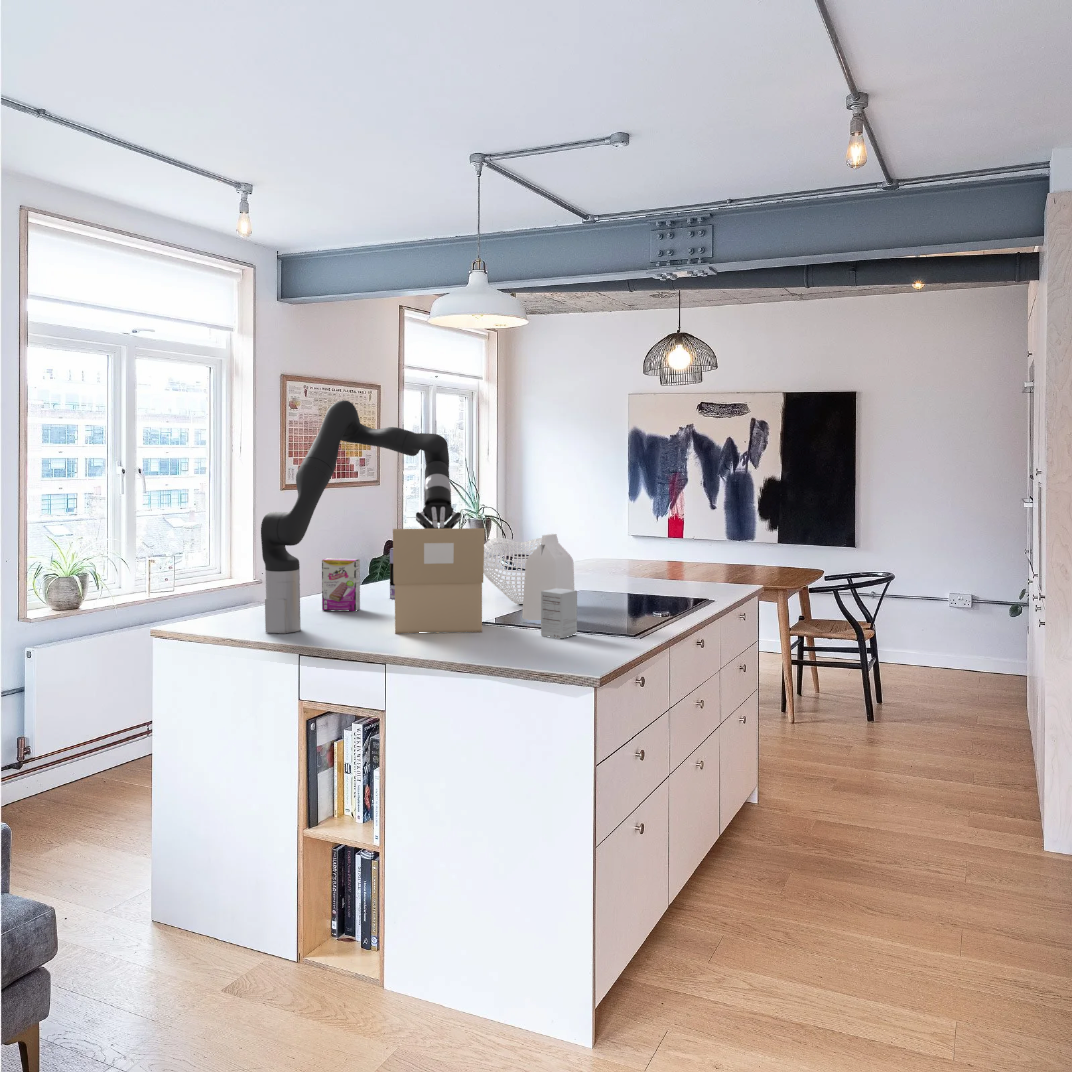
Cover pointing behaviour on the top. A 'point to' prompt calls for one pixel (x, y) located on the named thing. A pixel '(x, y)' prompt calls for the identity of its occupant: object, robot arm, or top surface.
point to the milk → (546, 574)
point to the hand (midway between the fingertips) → (438, 541)
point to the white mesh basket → (502, 540)
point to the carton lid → (438, 555)
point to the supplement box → (558, 612)
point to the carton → (438, 607)
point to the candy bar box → (340, 584)
